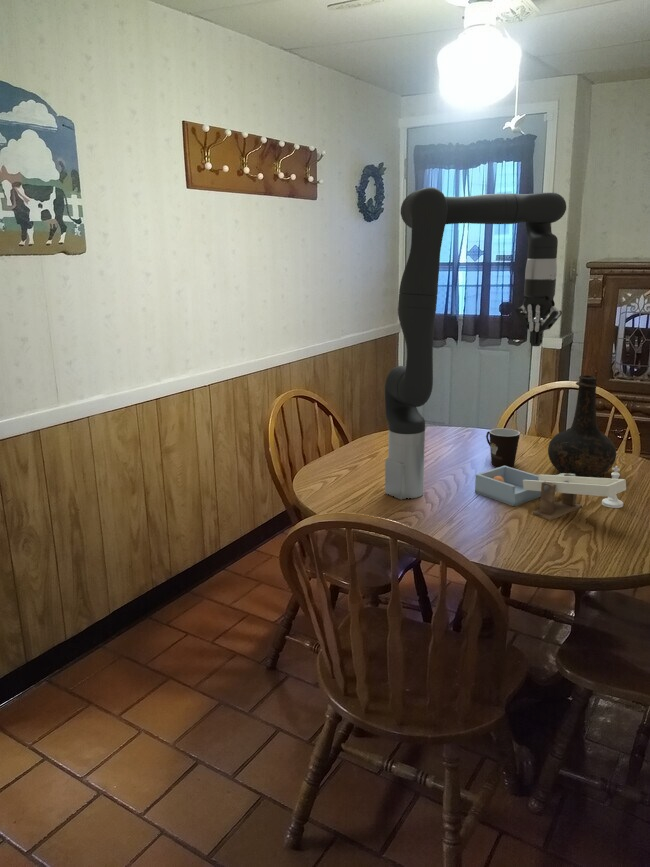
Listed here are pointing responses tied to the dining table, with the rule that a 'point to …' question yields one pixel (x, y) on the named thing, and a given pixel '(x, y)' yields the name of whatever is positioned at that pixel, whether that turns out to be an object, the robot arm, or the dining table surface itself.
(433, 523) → the dining table surface
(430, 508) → the dining table surface
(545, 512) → the stand
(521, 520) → the dining table surface
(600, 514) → the dining table surface
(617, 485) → the lever
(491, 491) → the bin
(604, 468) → the glass bottle
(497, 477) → the ball
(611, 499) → the chess piece
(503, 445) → the coffee mug
